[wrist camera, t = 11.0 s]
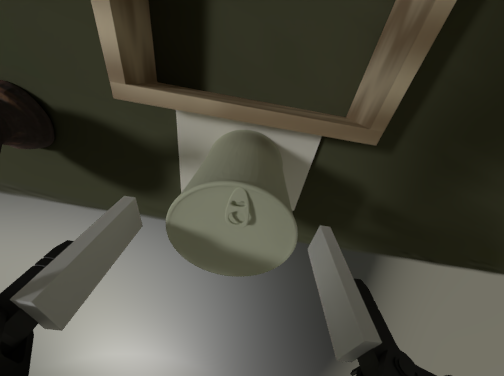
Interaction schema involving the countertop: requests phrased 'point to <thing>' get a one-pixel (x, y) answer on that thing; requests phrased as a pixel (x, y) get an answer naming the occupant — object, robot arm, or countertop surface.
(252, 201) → the can
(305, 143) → the mat
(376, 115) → the wooden frame
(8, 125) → the mortar and pestle
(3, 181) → the countertop surface
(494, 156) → the countertop surface
